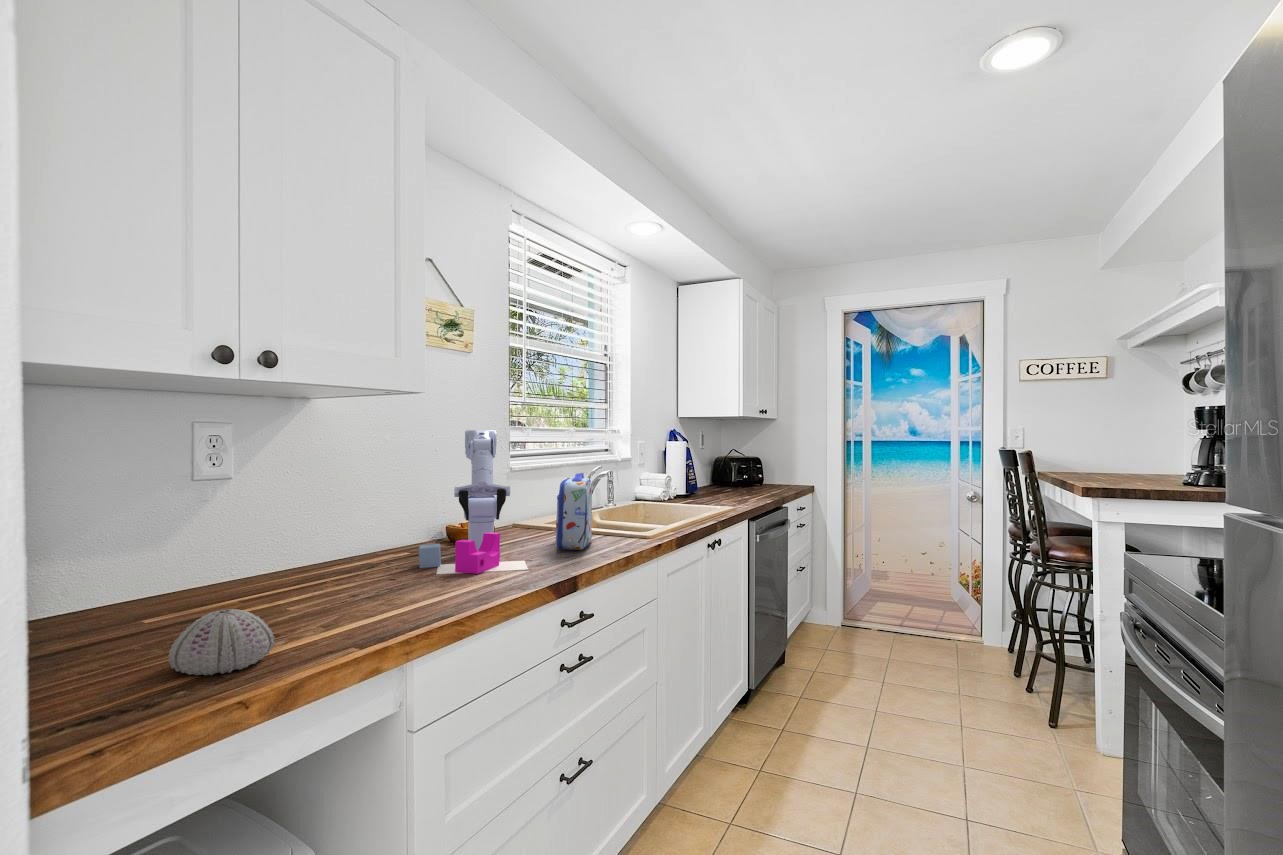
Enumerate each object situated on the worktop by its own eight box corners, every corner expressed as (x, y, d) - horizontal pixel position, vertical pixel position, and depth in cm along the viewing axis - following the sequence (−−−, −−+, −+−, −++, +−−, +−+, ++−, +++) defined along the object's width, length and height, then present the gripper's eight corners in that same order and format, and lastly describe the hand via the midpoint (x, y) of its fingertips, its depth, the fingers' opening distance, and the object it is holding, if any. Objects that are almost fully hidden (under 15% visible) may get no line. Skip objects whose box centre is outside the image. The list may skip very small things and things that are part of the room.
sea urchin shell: (211, 687, 87) (212, 628, 87) (144, 674, 92) (145, 618, 92) (294, 655, 99) (294, 604, 100) (231, 645, 104) (232, 596, 104)
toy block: (477, 573, 155) (477, 542, 155) (455, 571, 157) (455, 541, 157) (508, 561, 169) (508, 533, 169) (487, 560, 171) (487, 532, 171)
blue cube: (421, 564, 167) (420, 545, 167) (441, 562, 168) (440, 543, 168) (419, 568, 162) (418, 548, 162) (440, 566, 163) (439, 546, 163)
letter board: (438, 565, 166) (438, 564, 166) (524, 561, 171) (524, 560, 171) (436, 574, 155) (436, 573, 155) (528, 570, 161) (528, 569, 161)
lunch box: (561, 538, 209) (561, 471, 209) (592, 538, 209) (593, 471, 209) (553, 554, 181) (553, 477, 181) (589, 554, 182) (590, 477, 182)
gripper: (454, 467, 170) (453, 510, 162) (510, 466, 174) (511, 509, 166) (455, 482, 176) (454, 524, 167) (508, 481, 179) (510, 523, 171)
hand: (482, 518), depth 167 cm, fingers open, 7 cm apart
